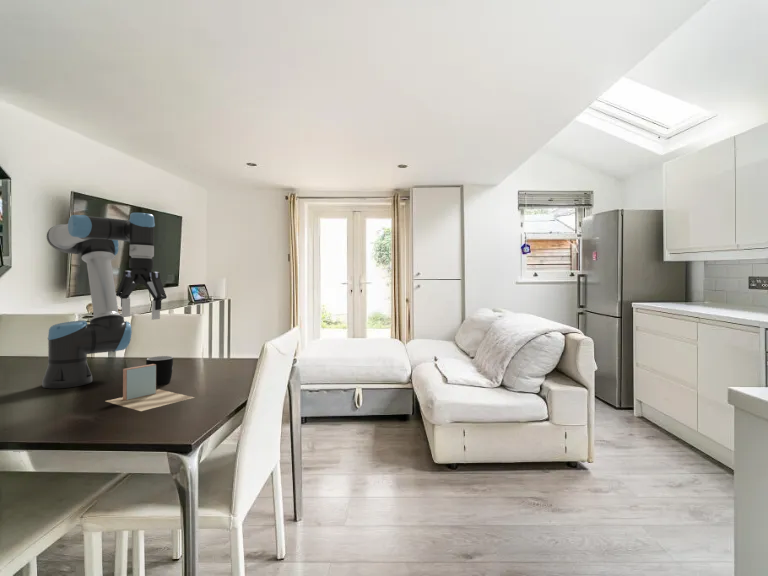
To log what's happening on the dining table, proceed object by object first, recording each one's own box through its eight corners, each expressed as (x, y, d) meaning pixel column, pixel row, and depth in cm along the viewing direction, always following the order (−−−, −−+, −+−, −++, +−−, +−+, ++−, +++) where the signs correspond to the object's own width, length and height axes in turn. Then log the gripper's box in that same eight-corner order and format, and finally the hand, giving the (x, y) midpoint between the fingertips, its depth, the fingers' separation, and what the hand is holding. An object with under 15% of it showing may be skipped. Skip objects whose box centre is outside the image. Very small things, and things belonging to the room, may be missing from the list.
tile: (122, 399, 138) (123, 368, 138) (152, 392, 147) (153, 364, 147) (126, 400, 137) (126, 369, 137) (156, 393, 146) (156, 364, 146)
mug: (176, 384, 161) (176, 358, 161) (151, 389, 155) (151, 361, 155) (164, 379, 170) (164, 354, 170) (139, 383, 163) (140, 356, 163)
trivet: (104, 403, 136) (104, 401, 136) (158, 391, 152) (158, 389, 152) (140, 413, 126) (140, 411, 126) (194, 399, 142) (194, 397, 142)
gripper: (104, 256, 150) (104, 316, 151) (161, 257, 142) (160, 321, 143) (123, 257, 157) (123, 314, 158) (178, 258, 149) (177, 319, 150)
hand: (140, 318), depth 150 cm, fingers open, 13 cm apart
